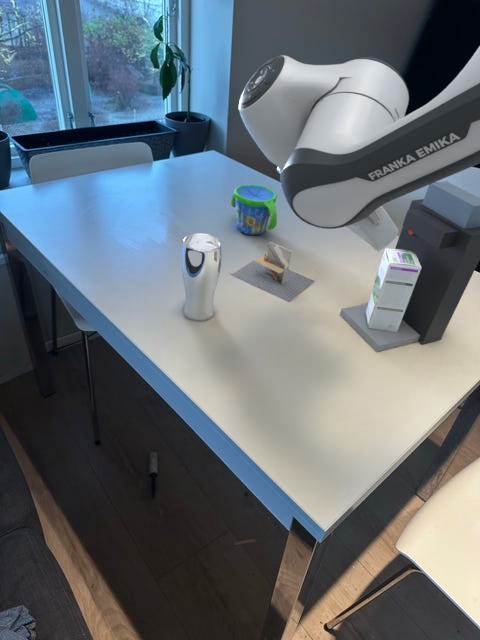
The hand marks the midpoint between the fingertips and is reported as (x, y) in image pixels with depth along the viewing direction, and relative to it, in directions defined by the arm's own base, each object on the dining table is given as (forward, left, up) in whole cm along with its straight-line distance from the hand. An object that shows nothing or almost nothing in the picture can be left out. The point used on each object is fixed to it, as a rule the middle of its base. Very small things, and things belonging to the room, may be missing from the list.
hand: (360, 232), depth 70 cm
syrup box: (-6, -10, -21) cm, 23 cm away
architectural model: (+19, -11, -22) cm, 31 cm away
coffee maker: (-7, -12, -22) cm, 26 cm away
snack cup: (+36, -27, -22) cm, 50 cm away
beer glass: (+23, +10, -22) cm, 34 cm away
